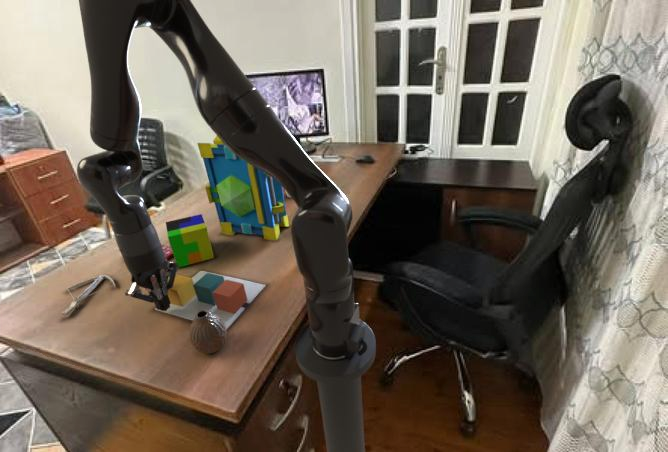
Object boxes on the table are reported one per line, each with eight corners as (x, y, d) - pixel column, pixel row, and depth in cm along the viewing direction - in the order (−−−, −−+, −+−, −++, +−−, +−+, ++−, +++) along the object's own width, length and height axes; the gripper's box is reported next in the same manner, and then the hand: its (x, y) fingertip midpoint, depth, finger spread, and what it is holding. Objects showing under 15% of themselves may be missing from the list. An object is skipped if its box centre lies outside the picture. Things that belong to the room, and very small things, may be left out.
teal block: (228, 292, 86) (223, 276, 84) (214, 305, 82) (209, 289, 80) (212, 288, 88) (207, 272, 86) (198, 301, 84) (192, 284, 82)
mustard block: (197, 294, 87) (191, 277, 84) (182, 307, 83) (176, 290, 80) (181, 290, 89) (176, 274, 86) (167, 302, 85) (160, 286, 82)
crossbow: (82, 281, 97) (79, 275, 96) (127, 278, 97) (124, 271, 96) (39, 319, 83) (36, 312, 82) (92, 315, 83) (89, 308, 82)
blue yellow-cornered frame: (238, 217, 124) (218, 132, 109) (297, 223, 116) (284, 133, 102) (214, 237, 112) (188, 145, 98) (277, 245, 105) (260, 147, 90)
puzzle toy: (208, 242, 110) (201, 214, 105) (214, 257, 102) (206, 227, 97) (174, 251, 106) (165, 222, 101) (177, 267, 98) (168, 236, 93)
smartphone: (147, 240, 112) (180, 249, 105) (148, 243, 112) (181, 251, 106) (126, 251, 106) (159, 261, 100) (127, 254, 106) (160, 264, 100)
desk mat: (265, 285, 88) (265, 284, 88) (225, 330, 75) (225, 329, 75) (201, 271, 96) (201, 270, 96) (155, 309, 83) (154, 308, 83)
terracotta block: (247, 300, 83) (243, 283, 81) (234, 314, 79) (229, 297, 77) (230, 295, 85) (226, 279, 83) (217, 309, 81) (212, 292, 79)
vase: (220, 360, 68) (209, 328, 64) (188, 358, 70) (175, 325, 65) (235, 334, 74) (225, 302, 70) (205, 332, 76) (194, 300, 71)
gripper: (125, 265, 66) (154, 332, 74) (177, 232, 77) (197, 294, 85) (98, 259, 69) (129, 324, 77) (152, 228, 79) (174, 288, 88)
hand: (165, 308), depth 81 cm, fingers closed
